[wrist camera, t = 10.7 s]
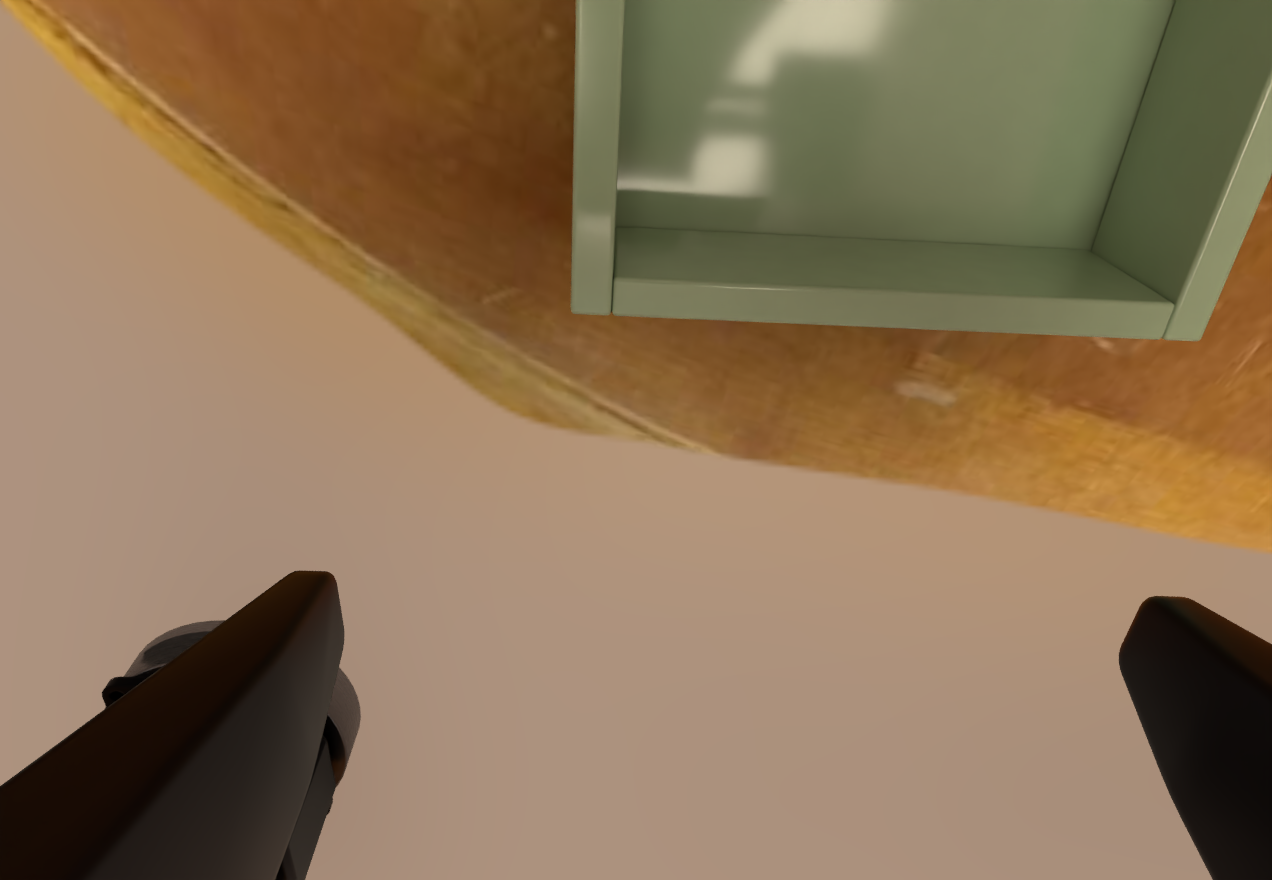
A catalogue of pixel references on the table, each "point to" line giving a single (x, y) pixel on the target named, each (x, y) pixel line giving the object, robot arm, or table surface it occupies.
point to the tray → (919, 161)
